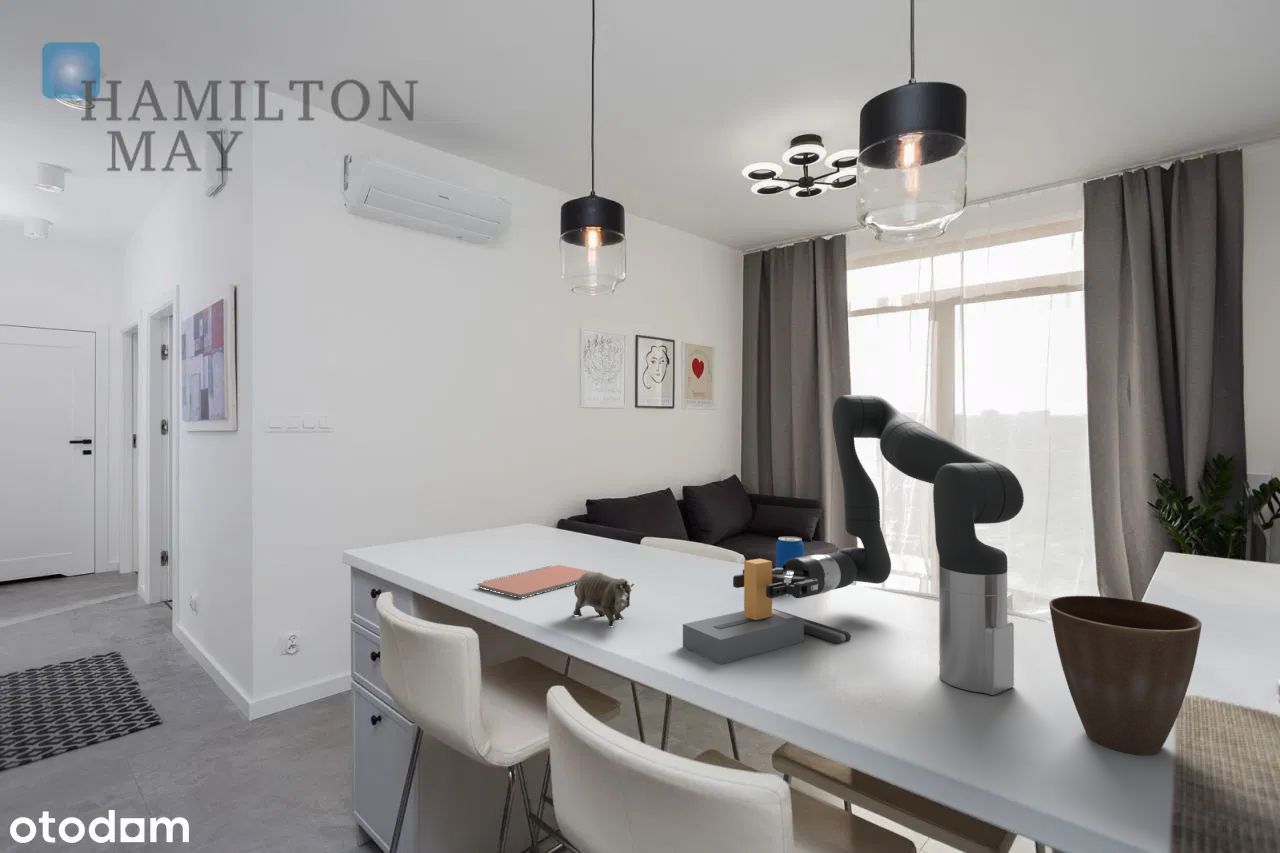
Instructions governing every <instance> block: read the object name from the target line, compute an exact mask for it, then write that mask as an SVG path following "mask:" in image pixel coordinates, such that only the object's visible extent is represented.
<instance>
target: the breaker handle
mask: <svg viewBox="0 0 1280 853" xmlns="http://www.w3.org/2000/svg"><path fill="white" fill-rule="evenodd" d="M743 566H744V567H743V568H744V569H743V570H744V587H743V590H744V591H743V606H744V608H743V611H744V616H746V617H749V618H751V619H754V620H759V619H763V618H767V617H771V616H772V609H773V598H768V597H767V596H766V586H767V585H769V584H772V569H773V561H772V560H768V559H765V558H764V559H763V558H754V559H748V560H744V561H743Z"/></svg>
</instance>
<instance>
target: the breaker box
mask: <svg viewBox="0 0 1280 853" xmlns="http://www.w3.org/2000/svg"><path fill="white" fill-rule="evenodd" d="M774 609H775V608H772V616H771V617H767V618H763V619H759V620H754V619H751V618H749V617H746V616H744V610H741V611H737V612H733V613H729V614H728V613H727V614H723V615H719V616H714V617H710V618H705V619H701V620H695V621H691V622H688V623H687V622H686V623H683V624H682V648H684V649H686V648H687V650H689V651H691V652H693V653H695V654H698V655H699V656H702V657H703V658H706V659H708V660H709V661H712V662H715V663H716V664H719V665H723V664H726V663H730V662H734V661H738V660H741V659H744V658H749V657H752V656H756V655H760V654H762V653H766V652H767V653H768V652H769V651H773V650H778V649H781V648H784V647H788V646H792V645H795V644H796V645H797V644H798V643H803V642H805V633H804V619H805V618H804V619H802V618H803V617H801V618H799V617H800V616H798V617H796V616H797V615H795V616H792V615H793V614H792V615H789V614H790V613H789V614H786V613H787V612H785V613H783V612H784V611H782V612H780V611H781V610H779V611H777V610H778V609H776V610H774Z"/></svg>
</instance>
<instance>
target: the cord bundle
mask: <svg viewBox="0 0 1280 853" xmlns="http://www.w3.org/2000/svg"><path fill="white" fill-rule="evenodd" d="M773 609H774V610H777V611H780V612H783V613H786V614H789V615H792V616H796V617H799V618H802V619H804V634H807V635H811V636H812V637H813V636H814V637H816V638H819V639H822V640H825V641H828V642H831V643H834V644H840V642H841V643H844V642H845V641H850V640H851V639H852V635H851V633H850V632H848V631H845V630H842V629H838V628H835V627H833V626H828V625H826V624H823V623H820V622H816V621H814V620H810V619H808V618H803V617H800V616H798V615H795V614H791V613H788V612H785V611H781V610H779V609H775V608H773Z"/></svg>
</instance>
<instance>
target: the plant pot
mask: <svg viewBox="0 0 1280 853" xmlns="http://www.w3.org/2000/svg"><path fill="white" fill-rule="evenodd" d="M1048 606H1049V611H1050V618H1051V623H1052V629H1053V634H1054V638H1055V643H1056V647H1057V652H1058V656H1059V660H1060V663H1061V664H1060V665H1061V667H1062V670H1063V671H1062V672H1063V674H1064V677H1065V681H1066V684H1067V687H1068V690H1069V693H1070V696H1071V699H1072V701H1073V704H1074V706H1075V709H1076V712H1077V714H1078V717H1079V719H1080V722H1081V724H1082V726H1083V729H1084V731H1085V734H1086V735H1087V736H1088V737H1089V738H1090V739H1091V740H1092V741H1094V742H1096V743H1097V744H1099V745H1101V746H1104V747H1105V748H1108V749H1111V750H1114V751H1117V752H1118V751H1119V752H1122V753H1125V754H1131V755H1142V756H1149V755H1155V754H1157V753H1159V752H1160V751H1161V750H1162V748H1163V747H1164V745H1165V743H1166V742H1167V739H1168V737H1169V736H1170V733H1171V731H1172V729H1173V726H1174V725H1175V723H1176V720H1177V718H1178V716H1179V713H1180V712H1181V708H1182V705H1183V703H1184V700H1185V697H1186V694H1187V691H1188V689H1189V685H1190V683H1191V679H1192V675H1193V670H1194V668H1195V667H1194V666H1195V663H1196V662H1195V661H1196V658H1197V654H1198V647H1199V643H1200V637H1201V631H1202V626H1203V625H1202V624H1203V623H1202V622H1201V620H1200V619H1199V618H1198V617H1196V616H1194V615H1192V614H1190V613H1187V612H1185V611H1181V610H1180V609H1175V608H1173V607H1168V606H1165V605H1161V604H1156V603H1151V602H1146V601H1140V600H1135V599H1128V598H1119V597H1112V596H1100V595H1099V596H1097V595H1067V596H1061V597H1060V596H1058V597H1055V598H1053V599H1051V600H1050V601H1049V603H1048Z"/></svg>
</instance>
